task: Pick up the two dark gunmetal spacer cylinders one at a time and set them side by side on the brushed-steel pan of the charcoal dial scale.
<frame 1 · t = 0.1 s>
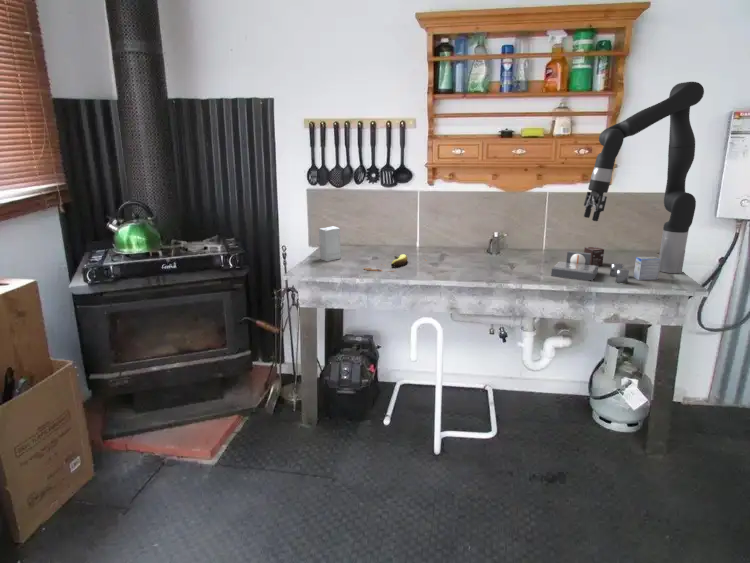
hand: (590, 219, 217), 22 cm above the worktop, tool pointing down, fingers open, 8 cm apart
dial scale: (574, 274, 218), on the worktop
medicine box: (645, 279, 212), on the worktop
spacer B: (621, 282, 207), on the worktop
box: (592, 264, 234), on the worktop
skincare box: (330, 259, 245), on the worktop
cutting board: (398, 264, 238), on the worktop
spacer A: (615, 275, 216), on the worktop
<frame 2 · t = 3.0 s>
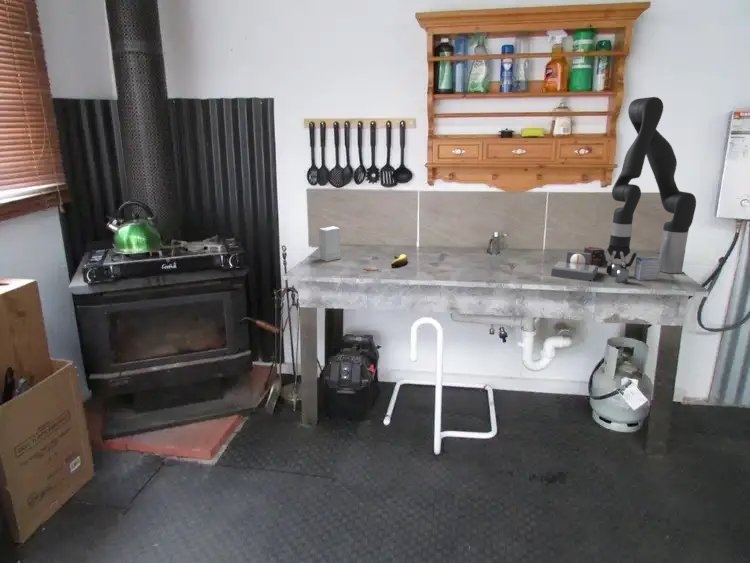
hand: (615, 274, 216), 0 cm above the worktop, tool pointing down, fingers closed on spacer A, 4 cm apart
spacer A: (615, 275, 216), on the worktop, touching gripper
everything else where it was.
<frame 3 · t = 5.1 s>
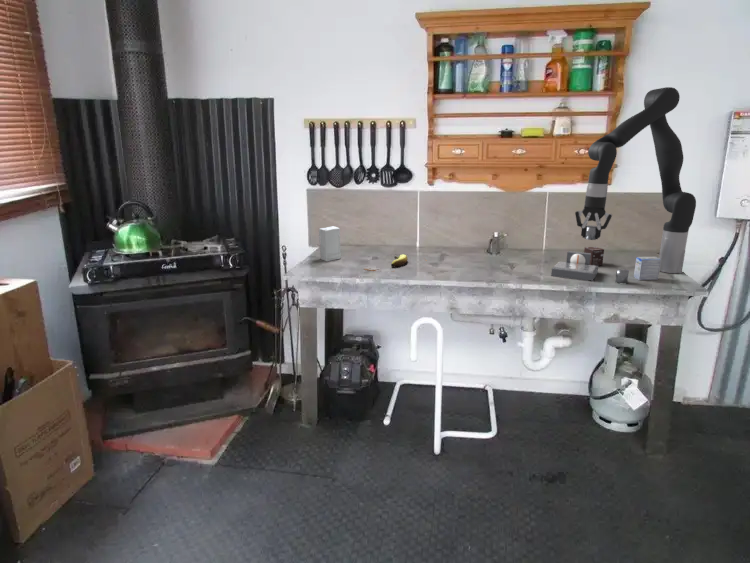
hand: (590, 237, 210), 16 cm above the worktop, tool pointing down, fingers closed on spacer A, 4 cm apart
spacer A: (590, 238, 210), point 16 cm above the worktop, touching gripper
everything else where it was.
when the fingers open (5 cm above the worktop, at t = 7.5 s): spacer A drops 1 cm, resting on dial scale.
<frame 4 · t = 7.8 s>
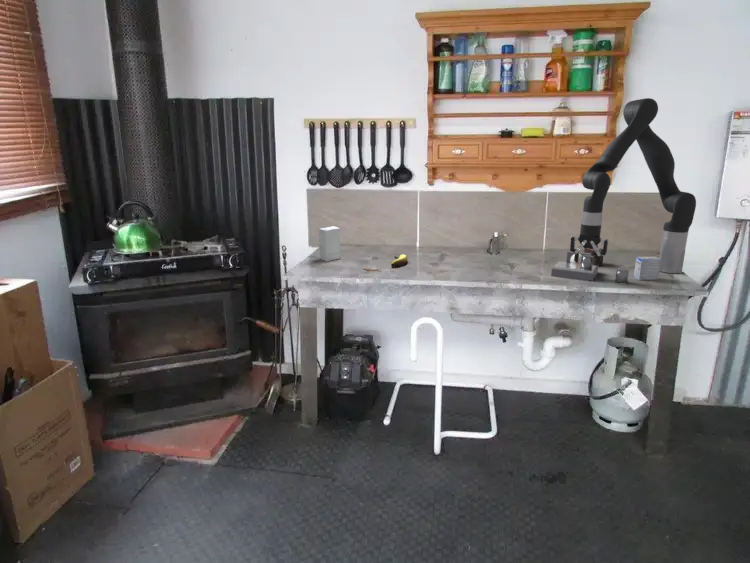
hand: (586, 263, 213), 6 cm above the worktop, tool pointing down, fingers open, 7 cm apart
spacer A: (586, 268, 213), point 4 cm above the worktop, touching dial scale
everything else where it was.
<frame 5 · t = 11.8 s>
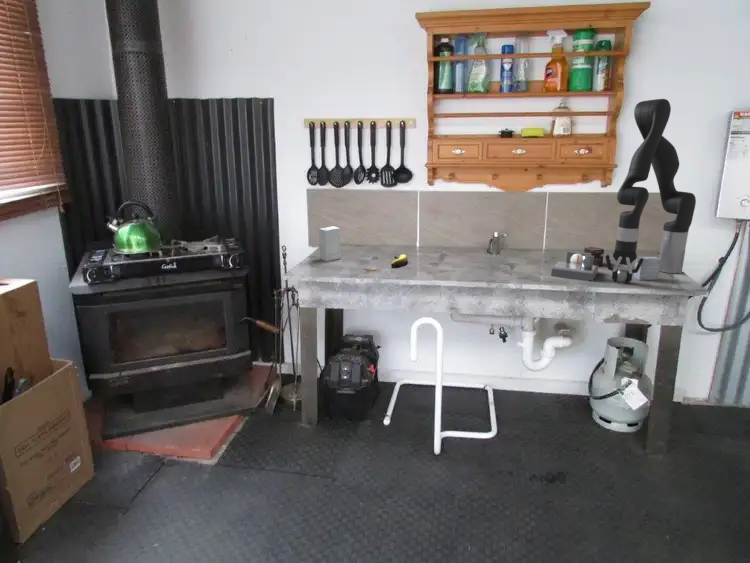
hand: (621, 281, 207), 0 cm above the worktop, tool pointing down, fingers closed on spacer B, 4 cm apart
spacer B: (621, 282, 207), on the worktop, touching gripper
everything else where it was.
when the fingers open (5 cm above the worktop, at t = 16.7 s): spacer B drops 1 cm, resting on dial scale.
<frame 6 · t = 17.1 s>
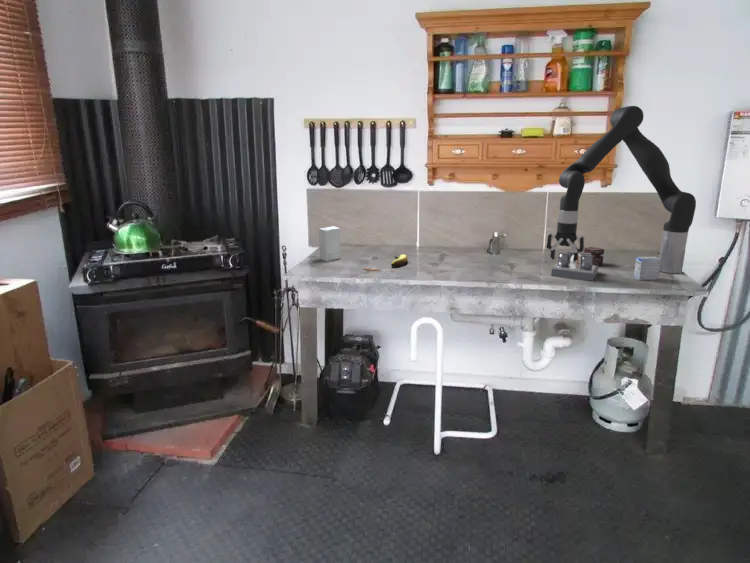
hand: (563, 260, 217), 6 cm above the worktop, tool pointing down, fingers open, 8 cm apart
spacer B: (563, 265, 217), point 4 cm above the worktop, touching dial scale
everything else where it was.
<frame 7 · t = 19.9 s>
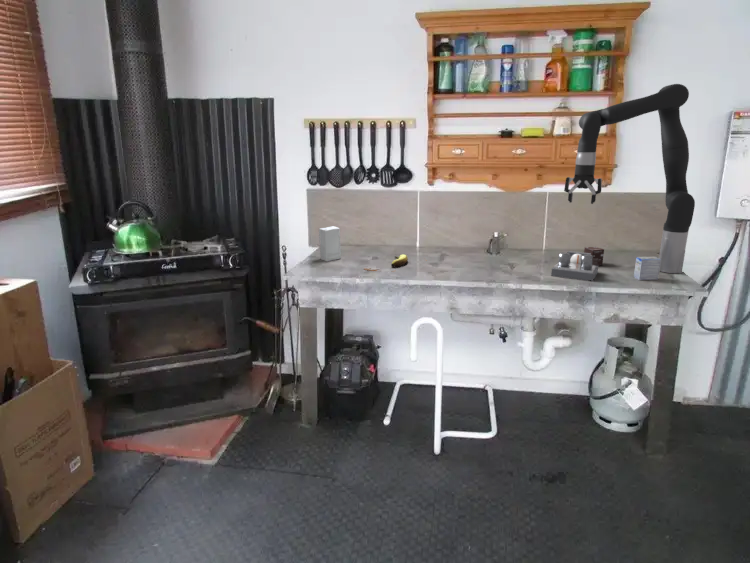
hand: (581, 203, 221), 28 cm above the worktop, tool pointing down, fingers open, 8 cm apart
nothing on the worktop moved.
at the end: spacer A inside the target area on the dial scale (0.0 cm from its centre), point 4.0 cm above the dial scale's base; spacer B inside the target area on the dial scale (0.1 cm from its centre), point 3.8 cm above the dial scale's base; spacer B tilted 0° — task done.
